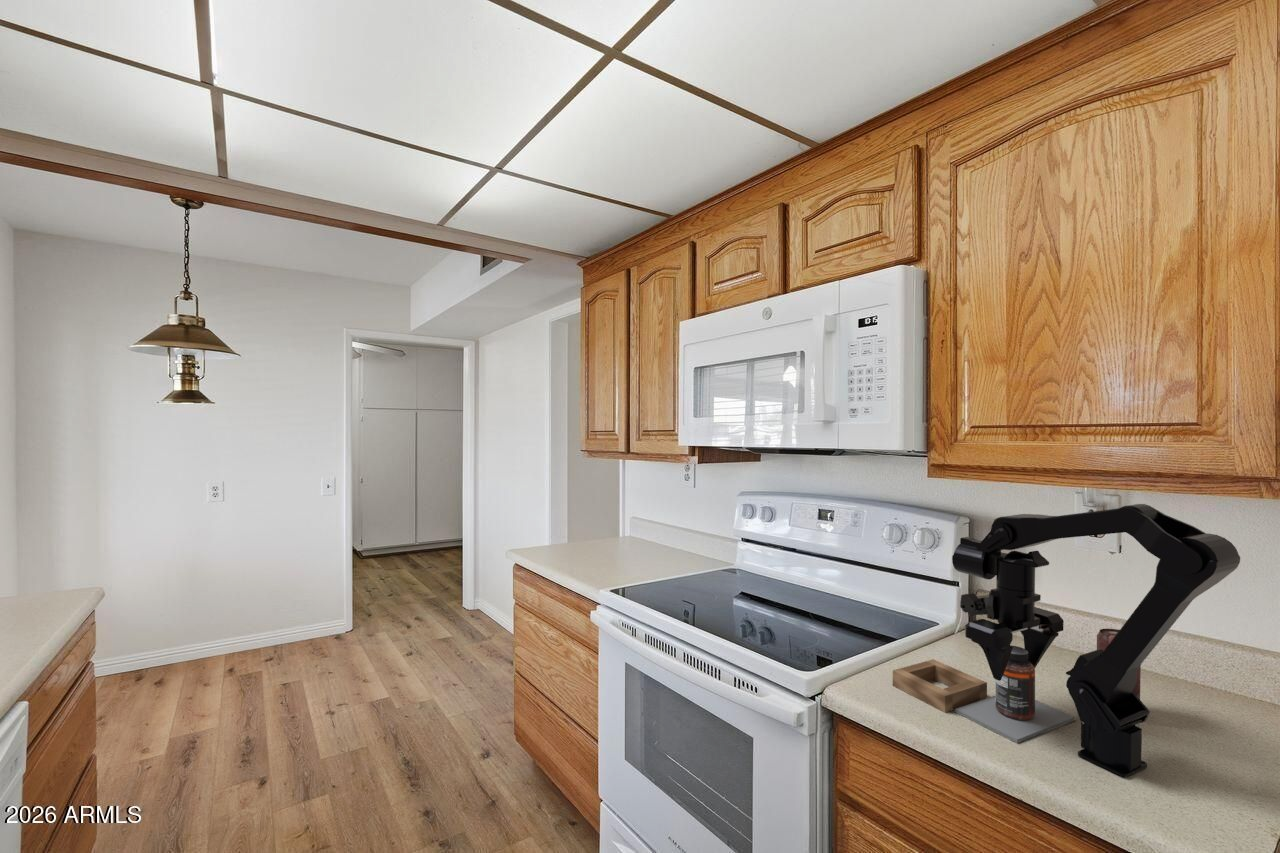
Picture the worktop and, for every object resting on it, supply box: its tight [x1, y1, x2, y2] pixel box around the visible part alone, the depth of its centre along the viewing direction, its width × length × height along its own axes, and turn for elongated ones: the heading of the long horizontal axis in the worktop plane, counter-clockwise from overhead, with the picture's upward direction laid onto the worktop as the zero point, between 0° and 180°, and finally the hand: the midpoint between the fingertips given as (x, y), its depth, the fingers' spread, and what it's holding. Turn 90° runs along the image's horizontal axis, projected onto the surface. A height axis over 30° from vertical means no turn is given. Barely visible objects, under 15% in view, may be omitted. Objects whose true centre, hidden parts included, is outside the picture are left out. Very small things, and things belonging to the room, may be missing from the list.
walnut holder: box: [892, 658, 988, 713], centre depth 114 cm, size 12×12×3 cm
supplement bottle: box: [994, 644, 1036, 720], centre depth 105 cm, size 6×6×11 cm
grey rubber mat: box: [954, 695, 1076, 744], centre depth 105 cm, size 11×16×1 cm
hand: (1014, 674), depth 105 cm, fingers open, 9 cm apart
